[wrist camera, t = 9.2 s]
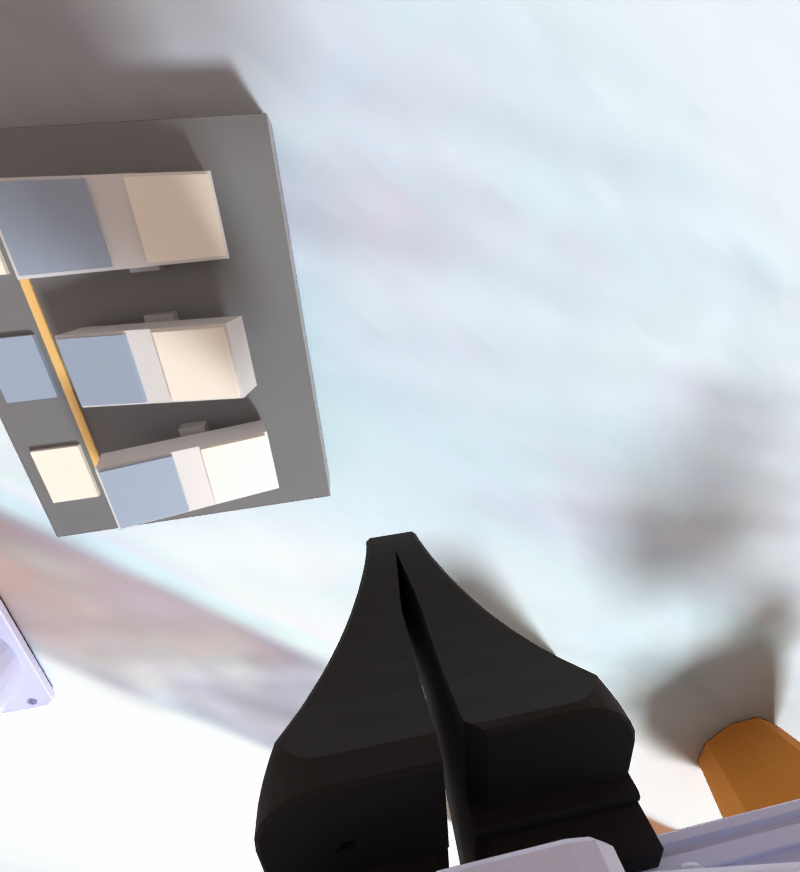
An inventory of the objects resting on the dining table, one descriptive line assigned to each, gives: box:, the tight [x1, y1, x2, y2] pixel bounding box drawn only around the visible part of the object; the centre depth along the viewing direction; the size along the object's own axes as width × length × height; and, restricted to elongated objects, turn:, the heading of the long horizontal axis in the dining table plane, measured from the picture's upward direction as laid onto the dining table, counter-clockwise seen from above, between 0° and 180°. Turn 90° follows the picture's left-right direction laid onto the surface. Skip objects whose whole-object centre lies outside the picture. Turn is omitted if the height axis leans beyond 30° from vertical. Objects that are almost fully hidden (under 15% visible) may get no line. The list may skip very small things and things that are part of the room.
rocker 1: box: [0, 171, 229, 280], centre depth 15 cm, size 6×3×2 cm, turn 93°
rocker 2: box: [55, 316, 257, 407], centre depth 16 cm, size 6×3×2 cm, turn 95°
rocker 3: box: [95, 420, 279, 530], centre depth 18 cm, size 6×3×2 cm, turn 93°
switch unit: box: [0, 113, 330, 537], centre depth 18 cm, size 12×15×3 cm
